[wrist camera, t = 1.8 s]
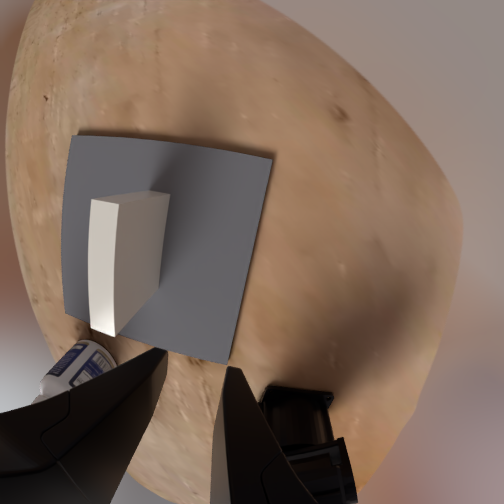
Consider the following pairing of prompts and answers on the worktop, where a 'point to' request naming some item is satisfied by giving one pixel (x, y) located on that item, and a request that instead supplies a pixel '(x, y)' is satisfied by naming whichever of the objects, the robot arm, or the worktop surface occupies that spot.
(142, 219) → the tile
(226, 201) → the mat
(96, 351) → the pill bottle
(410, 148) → the worktop surface
